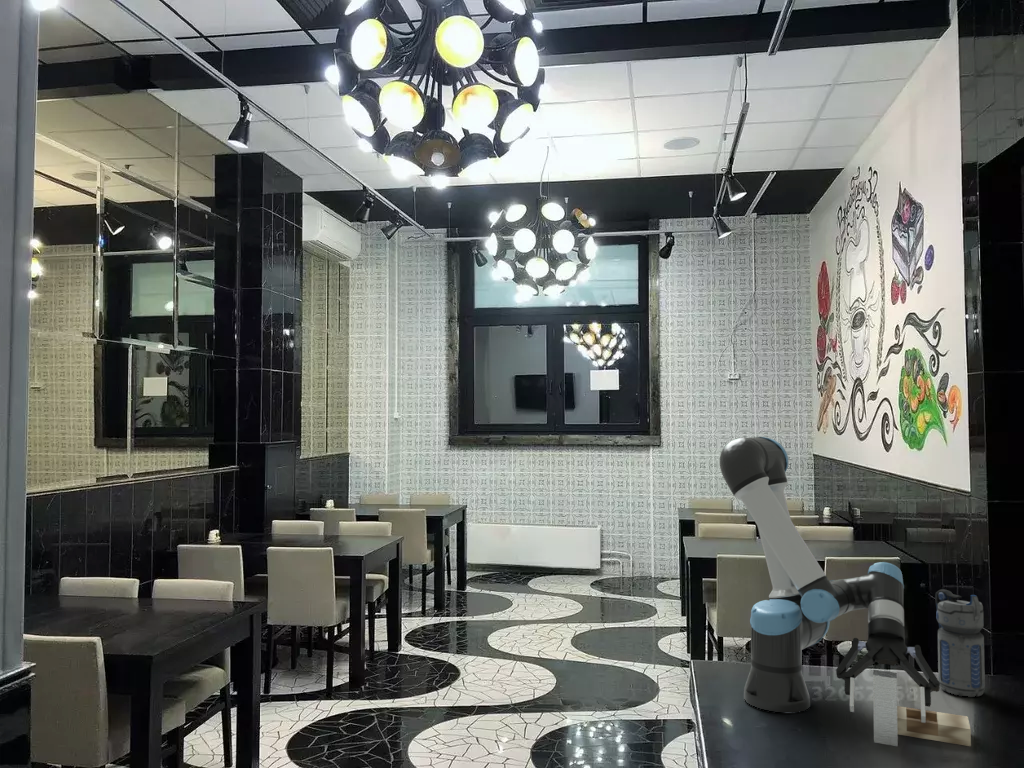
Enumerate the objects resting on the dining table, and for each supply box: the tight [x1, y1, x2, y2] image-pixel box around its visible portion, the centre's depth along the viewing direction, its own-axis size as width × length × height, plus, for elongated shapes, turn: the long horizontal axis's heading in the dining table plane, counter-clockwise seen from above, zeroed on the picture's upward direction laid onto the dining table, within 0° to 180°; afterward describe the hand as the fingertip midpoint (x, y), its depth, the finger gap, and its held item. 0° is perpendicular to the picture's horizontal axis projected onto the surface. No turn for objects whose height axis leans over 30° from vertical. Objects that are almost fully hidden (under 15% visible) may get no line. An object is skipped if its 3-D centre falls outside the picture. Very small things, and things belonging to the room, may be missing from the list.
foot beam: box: [897, 705, 972, 747], centre depth 172 cm, size 18×8×4 cm, turn 64°
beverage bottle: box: [934, 588, 986, 698], centre depth 199 cm, size 10×13×25 cm
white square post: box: [872, 669, 899, 747], centre depth 168 cm, size 4×4×14 cm
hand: (887, 714), depth 166 cm, fingers open, 13 cm apart
